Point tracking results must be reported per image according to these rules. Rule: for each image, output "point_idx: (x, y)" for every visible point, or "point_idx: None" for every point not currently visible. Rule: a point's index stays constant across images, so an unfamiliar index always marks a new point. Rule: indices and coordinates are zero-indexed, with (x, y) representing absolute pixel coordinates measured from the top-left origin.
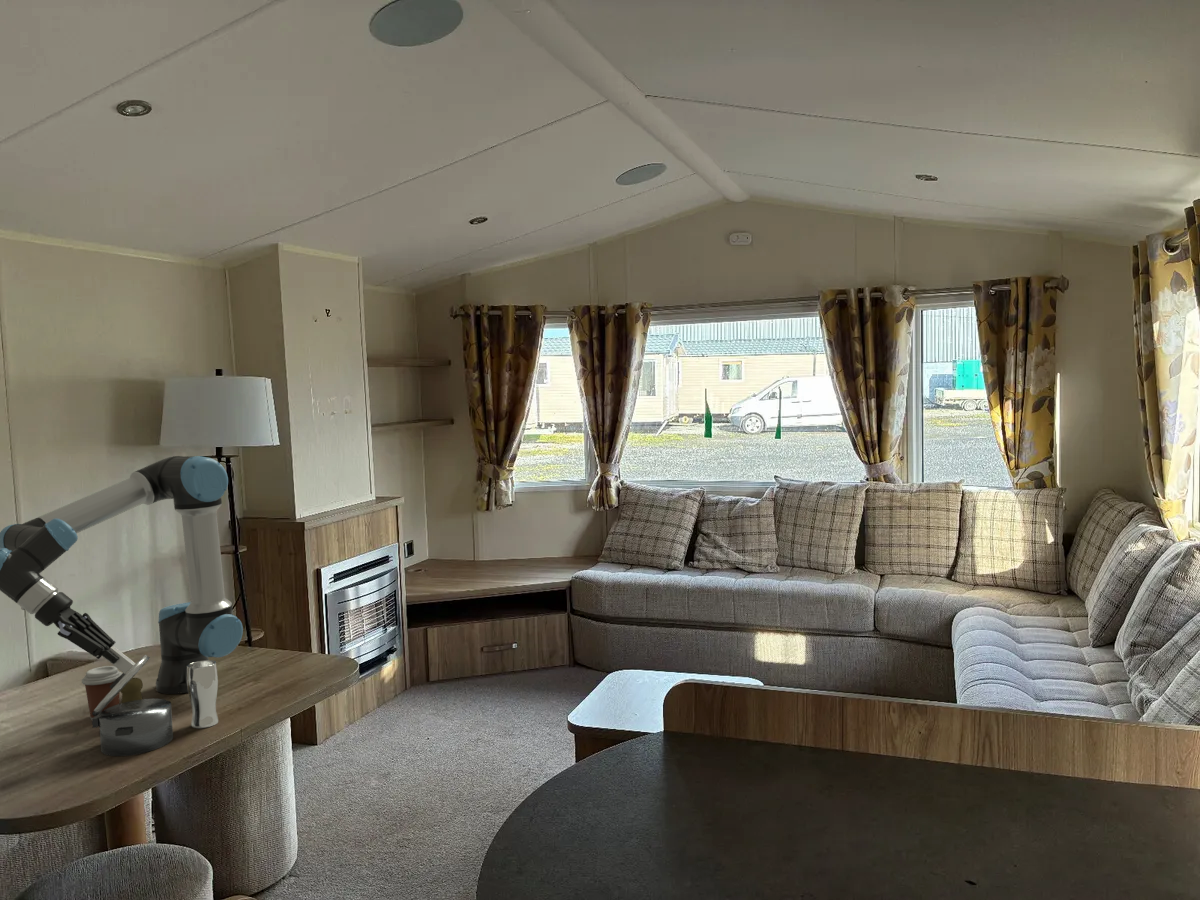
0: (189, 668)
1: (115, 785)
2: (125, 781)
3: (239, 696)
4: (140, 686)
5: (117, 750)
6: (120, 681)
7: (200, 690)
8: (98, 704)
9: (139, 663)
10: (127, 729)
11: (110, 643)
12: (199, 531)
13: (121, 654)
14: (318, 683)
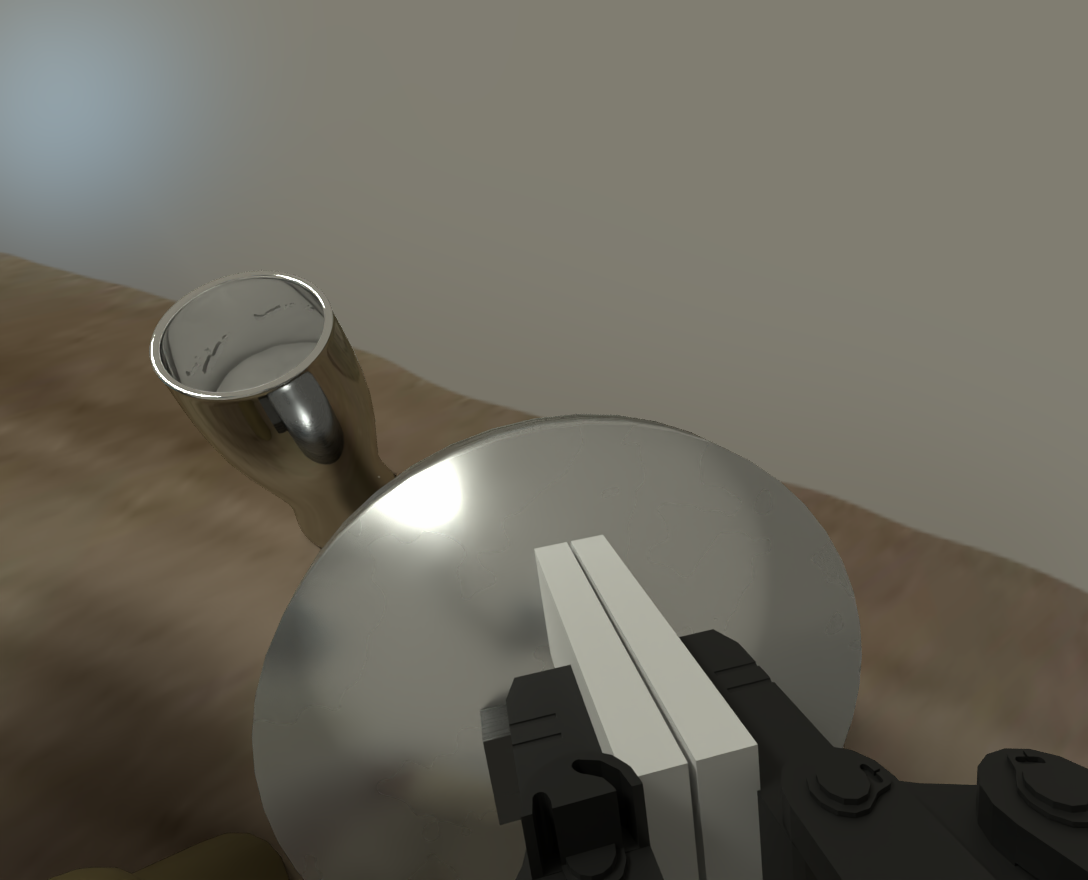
0: (312, 364)
1: (931, 548)
2: (893, 531)
3: (11, 504)
4: (108, 868)
5: None
6: (833, 548)
7: (370, 397)
8: None
9: (667, 427)
10: None
11: (619, 859)
12: None
13: (626, 625)
14: (5, 289)
